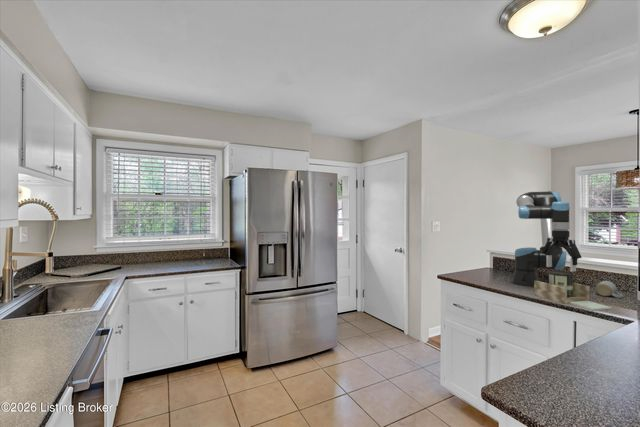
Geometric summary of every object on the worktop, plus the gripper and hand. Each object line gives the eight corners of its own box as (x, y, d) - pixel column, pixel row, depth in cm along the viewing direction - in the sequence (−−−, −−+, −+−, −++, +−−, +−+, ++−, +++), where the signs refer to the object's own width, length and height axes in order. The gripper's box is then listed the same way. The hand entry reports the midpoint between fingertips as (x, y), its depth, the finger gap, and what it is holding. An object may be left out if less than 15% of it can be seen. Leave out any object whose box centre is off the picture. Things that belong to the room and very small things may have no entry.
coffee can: (565, 295, 168) (565, 270, 168) (577, 301, 158) (577, 274, 157) (544, 295, 170) (544, 270, 170) (555, 300, 160) (555, 273, 160)
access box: (534, 294, 171) (534, 280, 171) (558, 293, 173) (558, 279, 173) (563, 303, 154) (563, 288, 154) (589, 301, 157) (589, 286, 157)
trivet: (569, 303, 154) (569, 301, 154) (587, 302, 156) (587, 300, 156) (592, 310, 143) (592, 308, 143) (611, 309, 145) (611, 307, 145)
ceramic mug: (594, 295, 169) (594, 281, 169) (598, 292, 174) (599, 279, 173) (620, 299, 160) (621, 285, 160) (624, 297, 165) (624, 283, 165)
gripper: (534, 229, 175) (534, 265, 175) (578, 231, 150) (578, 273, 150) (545, 228, 176) (545, 264, 176) (590, 231, 152) (590, 273, 152)
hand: (560, 269), depth 163 cm, fingers open, 13 cm apart
